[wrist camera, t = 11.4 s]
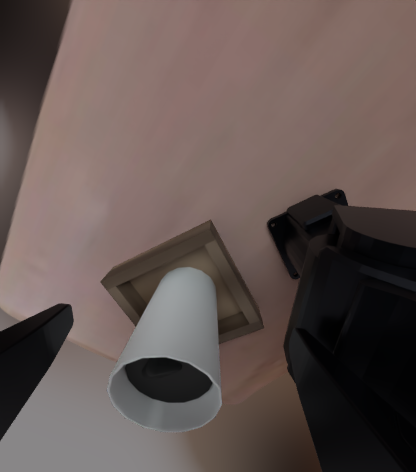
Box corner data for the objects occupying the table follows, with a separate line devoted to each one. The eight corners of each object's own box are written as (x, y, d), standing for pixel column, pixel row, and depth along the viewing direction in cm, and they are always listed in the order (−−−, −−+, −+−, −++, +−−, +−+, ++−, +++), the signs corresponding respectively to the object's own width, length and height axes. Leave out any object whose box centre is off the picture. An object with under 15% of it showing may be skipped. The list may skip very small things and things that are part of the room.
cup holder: (259, 309, 23) (264, 328, 21) (170, 342, 25) (165, 363, 23) (210, 219, 20) (209, 229, 17) (113, 267, 22) (100, 281, 20)
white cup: (144, 301, 23) (91, 408, 13) (171, 251, 20) (131, 335, 11) (201, 328, 23) (189, 444, 14) (233, 282, 21) (245, 384, 12)
